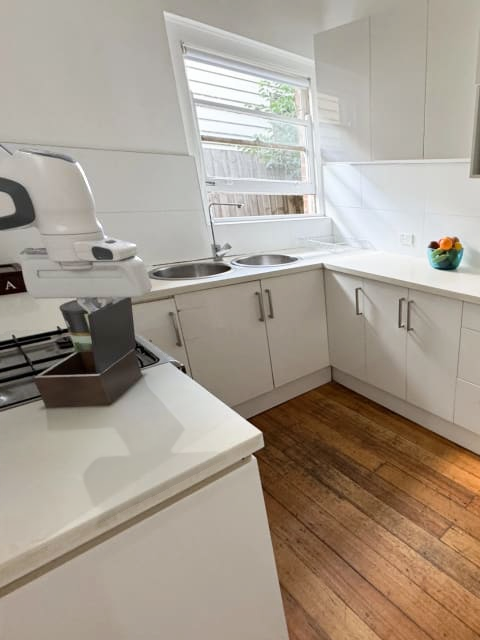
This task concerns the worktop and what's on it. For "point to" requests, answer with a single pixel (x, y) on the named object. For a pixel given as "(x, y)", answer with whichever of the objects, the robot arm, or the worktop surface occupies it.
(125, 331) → the dark grey box door
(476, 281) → the worktop surface
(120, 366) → the open brown box
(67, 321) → the coffee can
